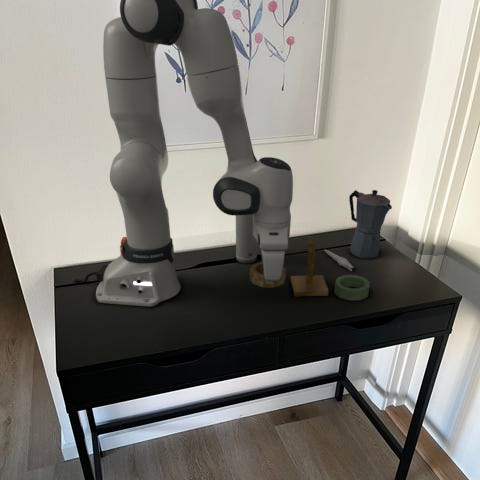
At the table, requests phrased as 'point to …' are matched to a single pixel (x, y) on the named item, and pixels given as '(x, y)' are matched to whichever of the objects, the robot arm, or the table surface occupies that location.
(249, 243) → the travel mug
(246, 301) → the table surface
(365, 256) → the moka pot
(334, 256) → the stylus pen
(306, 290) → the peg stand
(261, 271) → the birch ring
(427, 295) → the table surface
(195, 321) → the table surface
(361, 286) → the sage ring
